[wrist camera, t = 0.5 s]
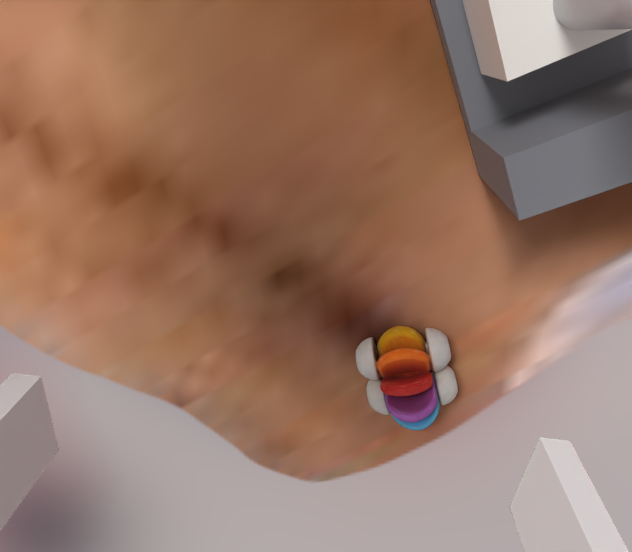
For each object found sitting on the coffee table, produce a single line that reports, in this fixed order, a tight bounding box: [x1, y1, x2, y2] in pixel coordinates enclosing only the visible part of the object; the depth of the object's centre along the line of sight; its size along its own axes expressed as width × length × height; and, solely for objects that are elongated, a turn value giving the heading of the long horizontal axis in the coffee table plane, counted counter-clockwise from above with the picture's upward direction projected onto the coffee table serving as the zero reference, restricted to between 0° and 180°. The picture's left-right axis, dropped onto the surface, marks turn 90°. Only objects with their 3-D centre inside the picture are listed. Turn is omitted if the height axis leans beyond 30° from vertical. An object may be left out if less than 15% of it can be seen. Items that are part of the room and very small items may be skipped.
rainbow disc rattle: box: [356, 326, 458, 430], centre depth 42 cm, size 8×10×7 cm
